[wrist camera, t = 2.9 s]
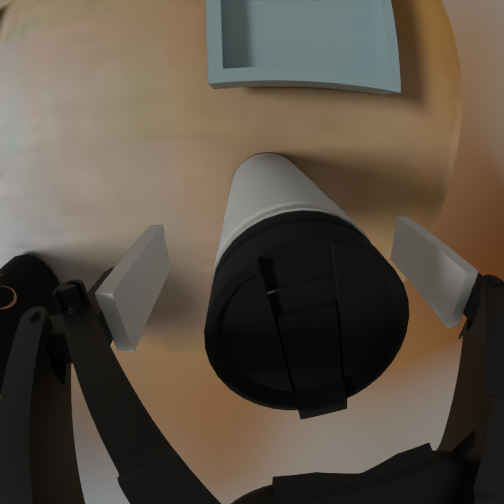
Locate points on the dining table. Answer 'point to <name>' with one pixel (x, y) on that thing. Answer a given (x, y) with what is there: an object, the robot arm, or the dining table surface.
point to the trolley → (303, 44)
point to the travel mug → (298, 295)
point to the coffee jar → (22, 298)
